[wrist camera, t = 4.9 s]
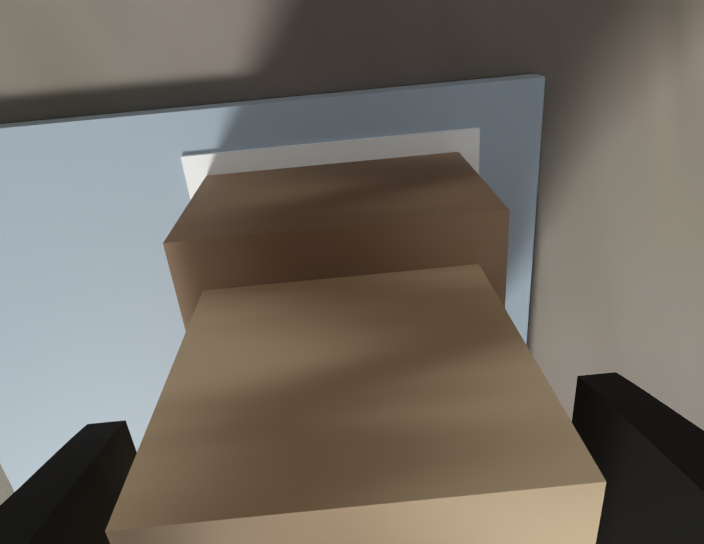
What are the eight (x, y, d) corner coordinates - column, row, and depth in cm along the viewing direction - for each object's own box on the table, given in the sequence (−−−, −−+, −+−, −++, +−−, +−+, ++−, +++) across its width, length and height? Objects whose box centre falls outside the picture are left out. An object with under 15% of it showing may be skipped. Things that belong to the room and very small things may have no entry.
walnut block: (458, 151, 13) (509, 209, 10) (457, 358, 16) (497, 465, 12) (206, 175, 13) (162, 243, 9) (248, 379, 16) (227, 491, 12)
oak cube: (479, 263, 10) (606, 482, 5) (474, 466, 12) (561, 738, 8) (202, 290, 10) (105, 530, 5) (249, 488, 12) (206, 774, 8)
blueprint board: (536, 73, 13) (546, 77, 12) (508, 513, 20) (514, 529, 19) (-141, 137, 13) (-165, 144, 12) (62, 557, 20) (54, 575, 19)
